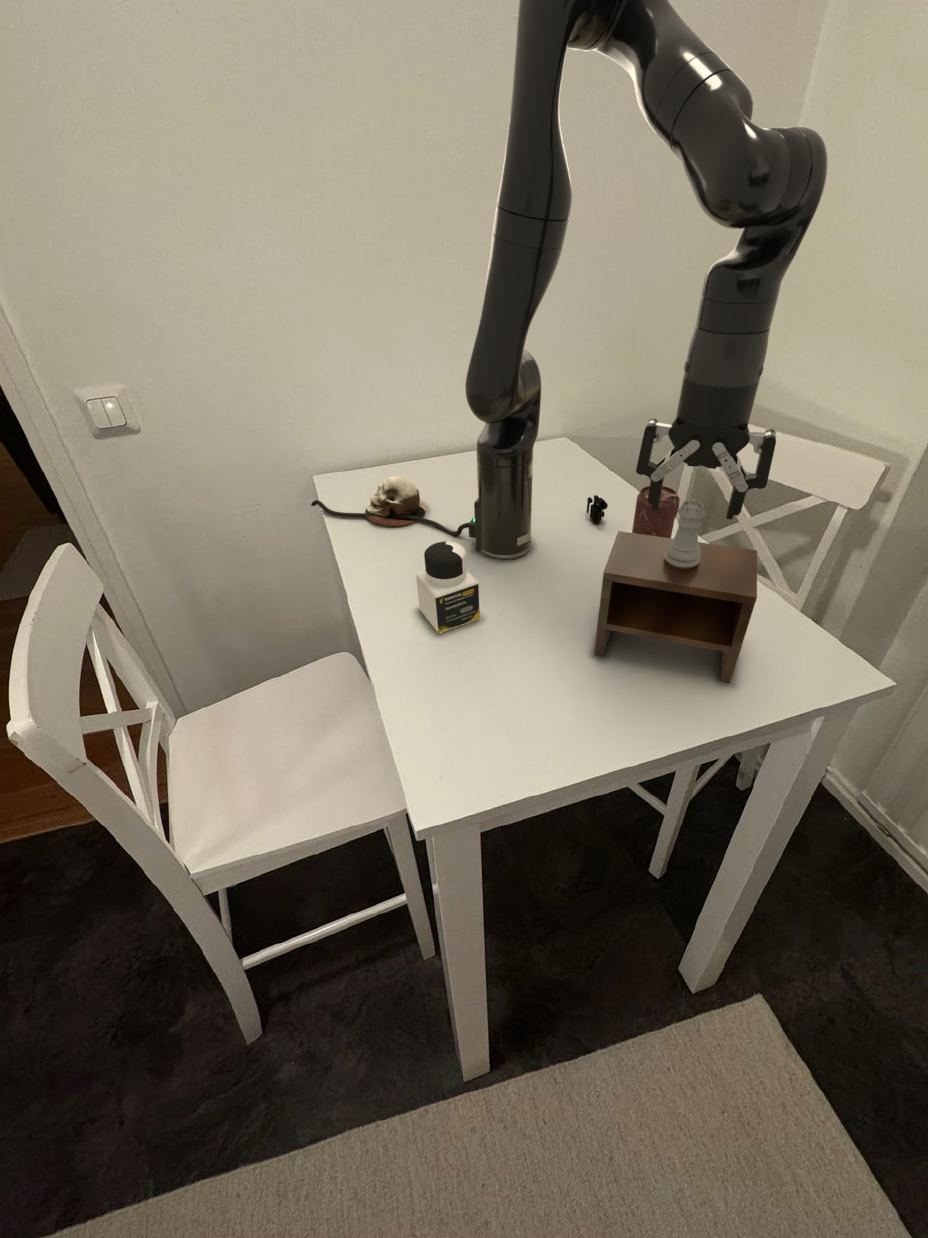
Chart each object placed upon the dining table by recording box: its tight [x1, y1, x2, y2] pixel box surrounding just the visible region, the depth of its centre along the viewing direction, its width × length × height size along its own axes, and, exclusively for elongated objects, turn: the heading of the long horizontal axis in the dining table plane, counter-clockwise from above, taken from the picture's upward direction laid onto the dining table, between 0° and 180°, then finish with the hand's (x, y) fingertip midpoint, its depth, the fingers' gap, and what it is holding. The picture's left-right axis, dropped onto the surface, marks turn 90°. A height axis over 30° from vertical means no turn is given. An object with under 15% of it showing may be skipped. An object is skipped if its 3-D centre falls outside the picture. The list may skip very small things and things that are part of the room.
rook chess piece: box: [664, 499, 707, 569], centre depth 75 cm, size 4×4×8 cm
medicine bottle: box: [415, 541, 481, 634], centre depth 90 cm, size 7×7×12 cm
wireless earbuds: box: [585, 494, 609, 526], centre depth 114 cm, size 7×2×5 cm, turn 14°
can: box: [631, 485, 681, 538], centre depth 97 cm, size 6×6×14 cm
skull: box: [364, 475, 426, 527], centre depth 120 cm, size 12×10×10 cm
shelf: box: [593, 530, 758, 684], centre depth 82 cm, size 18×11×14 cm, turn 69°
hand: (691, 511), depth 73 cm, fingers open, 8 cm apart
